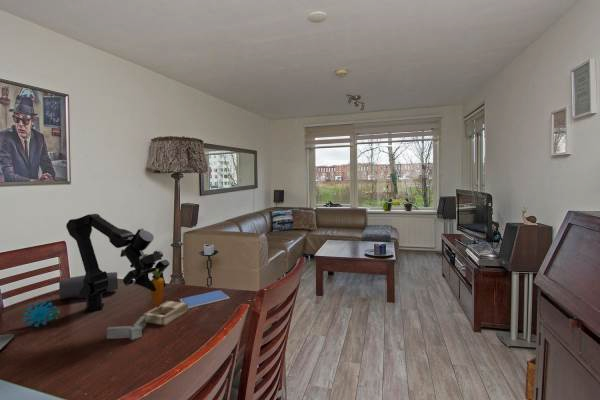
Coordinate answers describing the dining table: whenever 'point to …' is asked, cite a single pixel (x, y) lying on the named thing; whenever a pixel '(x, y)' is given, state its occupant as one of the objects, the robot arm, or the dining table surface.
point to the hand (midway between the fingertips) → (160, 288)
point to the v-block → (127, 330)
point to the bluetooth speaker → (82, 285)
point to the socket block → (166, 312)
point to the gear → (41, 314)
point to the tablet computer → (204, 299)
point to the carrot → (157, 288)
